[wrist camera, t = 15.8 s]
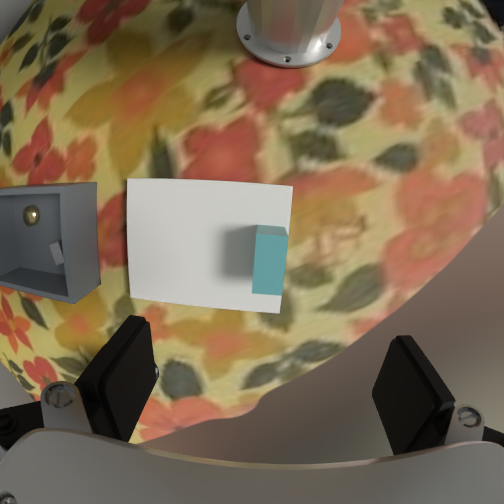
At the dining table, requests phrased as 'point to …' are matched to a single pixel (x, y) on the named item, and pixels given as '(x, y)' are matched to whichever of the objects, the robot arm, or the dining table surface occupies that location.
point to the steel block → (57, 252)
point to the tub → (50, 240)
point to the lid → (208, 242)
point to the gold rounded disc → (31, 215)
